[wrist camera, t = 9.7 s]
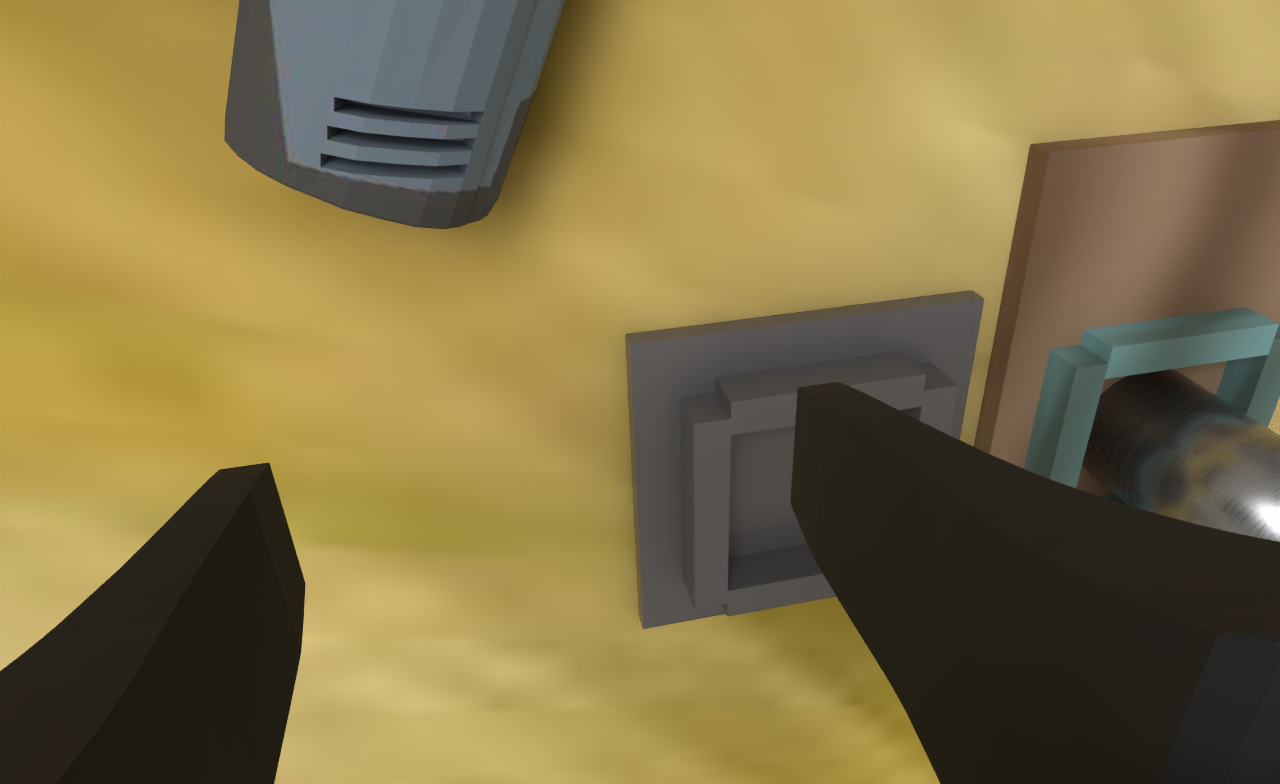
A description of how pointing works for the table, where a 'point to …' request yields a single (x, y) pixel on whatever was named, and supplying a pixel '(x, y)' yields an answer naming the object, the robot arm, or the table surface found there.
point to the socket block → (765, 439)
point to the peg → (1186, 455)
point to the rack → (1135, 285)
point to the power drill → (387, 100)
